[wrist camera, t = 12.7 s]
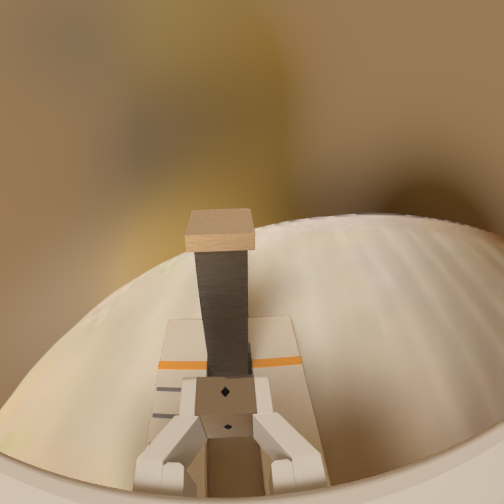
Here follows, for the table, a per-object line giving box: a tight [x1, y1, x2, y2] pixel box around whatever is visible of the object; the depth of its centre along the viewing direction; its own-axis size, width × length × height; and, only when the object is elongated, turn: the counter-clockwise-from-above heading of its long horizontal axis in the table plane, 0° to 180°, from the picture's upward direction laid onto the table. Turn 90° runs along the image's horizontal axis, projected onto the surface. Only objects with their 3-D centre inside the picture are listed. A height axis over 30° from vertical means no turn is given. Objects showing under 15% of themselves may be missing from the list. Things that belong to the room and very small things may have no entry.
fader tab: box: [185, 208, 255, 377], centre depth 25 cm, size 4×4×16 cm
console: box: [146, 315, 331, 498], centre depth 22 cm, size 28×14×2 cm, turn 4°
